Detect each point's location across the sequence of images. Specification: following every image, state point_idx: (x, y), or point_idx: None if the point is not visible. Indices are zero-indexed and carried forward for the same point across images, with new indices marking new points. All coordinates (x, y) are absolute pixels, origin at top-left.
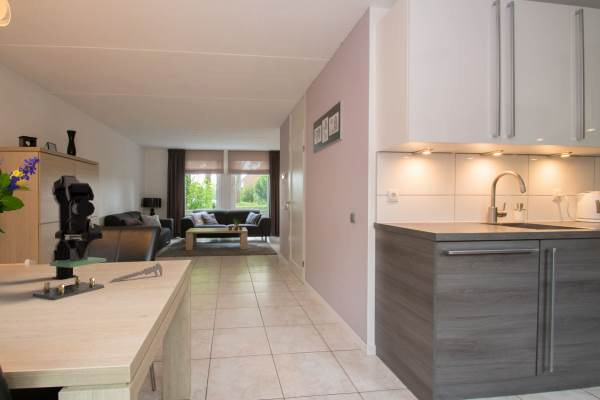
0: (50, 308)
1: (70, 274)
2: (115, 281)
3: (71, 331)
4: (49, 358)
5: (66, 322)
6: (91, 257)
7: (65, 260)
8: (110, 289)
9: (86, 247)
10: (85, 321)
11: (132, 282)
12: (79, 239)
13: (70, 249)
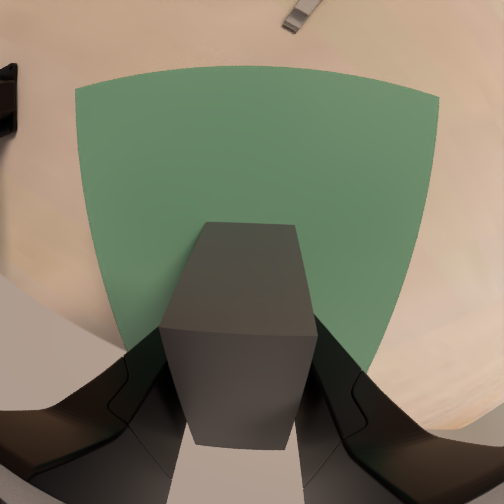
0: (383, 375)
1: (8, 94)
2: (313, 10)
3: (478, 389)
4: (480, 411)
5: (460, 385)
6: (174, 83)
7: (135, 325)
8: None
9: (377, 397)
10: (484, 370)
11: (413, 14)
12: (84, 499)
13: (202, 439)
